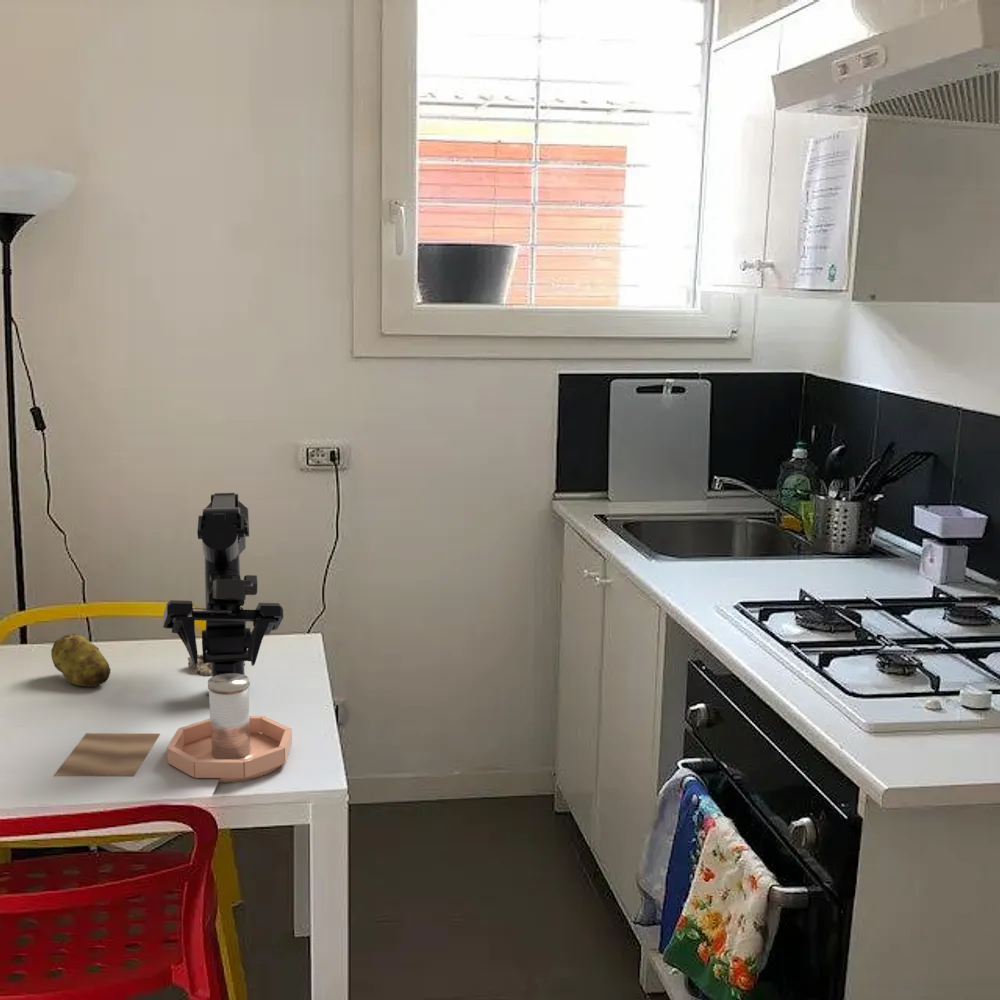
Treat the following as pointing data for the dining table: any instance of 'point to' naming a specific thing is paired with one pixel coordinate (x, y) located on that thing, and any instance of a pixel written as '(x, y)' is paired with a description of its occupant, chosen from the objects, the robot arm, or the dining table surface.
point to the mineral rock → (200, 666)
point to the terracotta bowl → (197, 761)
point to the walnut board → (108, 754)
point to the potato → (80, 661)
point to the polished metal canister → (229, 716)
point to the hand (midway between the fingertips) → (224, 664)
